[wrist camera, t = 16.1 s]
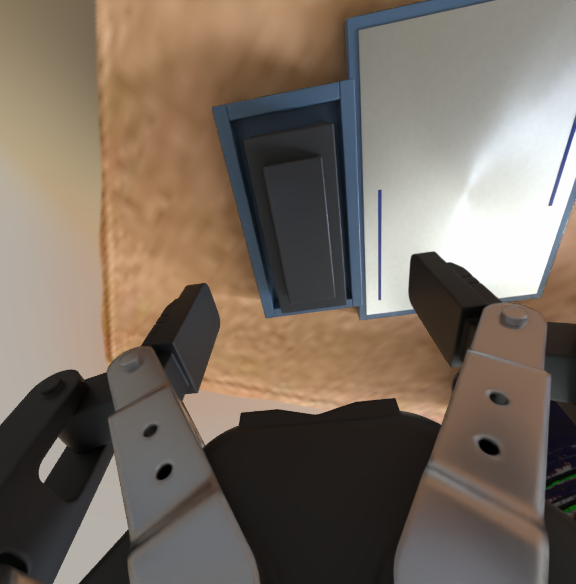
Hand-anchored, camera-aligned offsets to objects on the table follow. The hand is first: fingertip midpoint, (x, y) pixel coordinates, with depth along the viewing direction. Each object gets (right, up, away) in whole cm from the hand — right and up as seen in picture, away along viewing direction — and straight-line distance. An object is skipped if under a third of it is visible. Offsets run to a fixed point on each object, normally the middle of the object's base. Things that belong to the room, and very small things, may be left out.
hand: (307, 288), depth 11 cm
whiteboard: (+11, +7, +9) cm, 16 cm away
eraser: (0, +5, +9) cm, 10 cm away
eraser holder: (0, +6, +10) cm, 11 cm away
